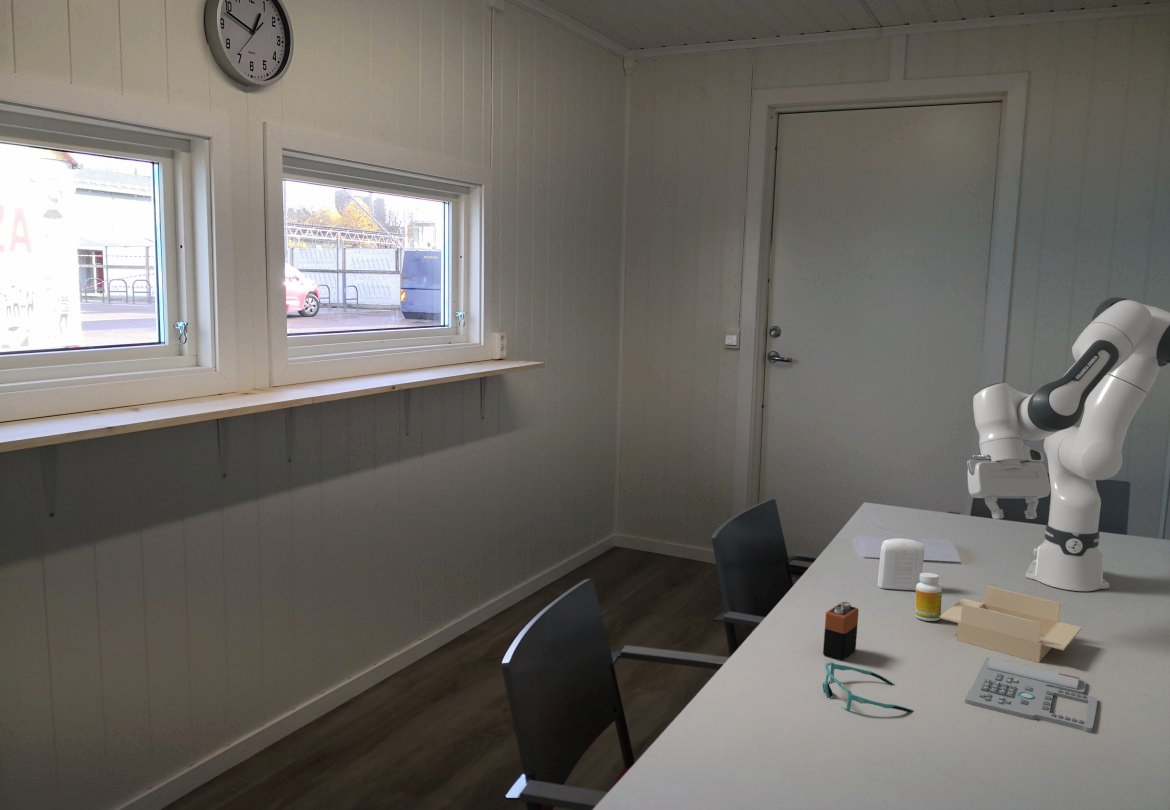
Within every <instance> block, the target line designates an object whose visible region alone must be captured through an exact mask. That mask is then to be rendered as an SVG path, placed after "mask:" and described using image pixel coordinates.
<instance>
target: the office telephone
mask: <svg viewBox="0 0 1170 810" xmlns="http://www.w3.org/2000/svg"><path fill="white" fill-rule="evenodd" d="M1086 687H1087V681H1086V680H1083V679H1080V677H1079V676H1076V675H1071V674H1066V673H1063V672H1059V671H1054V670H1050V669H1049V670H1048V669H1045V668H1040V667H1036V666H1032V665H1026V664H1022V663H1020V662H1019V663H1018V662H1014V661H1008V660H1004V659H1000V658H997V657H992V656H991V657H990V656H989V657H988V656H987V657H986V658H985V660H984V662H983V664H982V666H981V668H980V670H979V672H978V674H977V676H976V679H975V681H974V683H973V684H972V686H971V689H970V690H969V691H968V692H967V695H966V696H965V698H964V704H967V705H970V706H974V707H978V708H981V709H987V710H989V711H994V712H997V713H1002V714H1006V715H1010V716H1014V717H1018V718H1023V719H1027V720H1031V721H1032V720H1033V721H1035V720H1039V721H1043V722H1048V723H1051V724H1055V725H1056V724H1057V725H1061V726H1063V727H1067V728H1072V729H1076V730H1080V731H1083V732H1085V733H1089V734H1090V733H1092V732H1093V729H1094V724H1095V718H1096V713H1097V706H1098V697H1096V696H1091V695H1087V694H1085V693H1086ZM1054 697H1059V698H1061V699H1066V700H1070V701H1075V702H1079V703H1084V704H1087V710H1086V715H1085V719H1084V720H1082V719H1077V718H1074V717H1070V716H1065V715H1062V714H1056V713H1055V712H1050V711H1051V707H1052V703H1053V699H1054Z"/></svg>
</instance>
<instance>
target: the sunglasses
mask: <svg viewBox="0 0 1170 810" xmlns="http://www.w3.org/2000/svg"><path fill="white" fill-rule="evenodd" d="M824 666H825V671H826V676H825V680H824V681H823V682H822V690H823V692H824V691H825V692H824V693H825V696H826V698H830V699H831V698H832V697H834V694H833V690H832V688H831V686H830V684H829V683H828V682H830V681H831V682H832V681H833V682H835V683H836V684H837V686H839V687H840V689H843V690H844V691H845V692H847V704H846V707H844V706H842V707H843V708H845V710H844V711H846V710H847V712H848V711H851V706H852V701H855V702H856V703H859V704H869V705H874V706H878V707H881V708H884V709H893V710H898V711H903V712H905V713H912V712H914V711H915V710H913V709H911V708H908V707H905V706H901V705H898V704H892V703H891V704H890V703H883V702H878V701H876V700H875V701H874V700H872V699H869V698H865V697H862V696H859V695H857V694H854V693H852V692H851V690H849V689H847V688H846V687H844V686H843V685H842V683H841V682H840V681H839V680H838V679H837V678H835V670H839V671H847V670H848V671H854V672H858V673H861V674H863V675H867V676H872V677H874V678H877V679H879V680H880V681H883V682H884V683H886V684H887V685H889V684H890V686H893V685H894V686H893V687H896V686H895V685H896V684H895V683H894V682H893V681H890V680H889V679H887V678H886V677H884V676H882V675H880V674H879V673H876V672H874V671H871V670H865V669H862V668H857V667H852V666H850V665H844V664H837V663H834V662H831V661H830V662H827V663H825V665H824ZM829 666H830V668H829ZM829 677H830V680H829ZM833 682H832V683H833Z"/></svg>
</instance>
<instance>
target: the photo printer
mask: <svg viewBox="0 0 1170 810" xmlns="http://www.w3.org/2000/svg"><path fill="white" fill-rule="evenodd" d="M880 547H881V548H880V553H879V555H880V556H879V565H878V576H877V587H879V589H888V590H901V591H905V590H906V591H916V585H917V584H918V583H920V582H921V581H920V579H919V578H920V574H921V573H923V569H924V568H923V567H924V556H925V546H924V544H923V543H921V542H919V541H918V540H913V539H911V538H910V539H909V538H900V537H899V538H890V539H885V540H883V541H882V542H881V546H880Z"/></svg>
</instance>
